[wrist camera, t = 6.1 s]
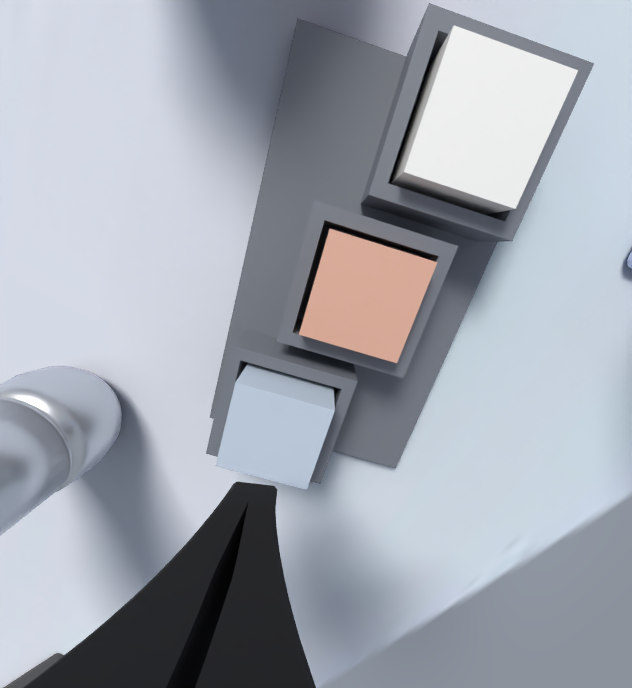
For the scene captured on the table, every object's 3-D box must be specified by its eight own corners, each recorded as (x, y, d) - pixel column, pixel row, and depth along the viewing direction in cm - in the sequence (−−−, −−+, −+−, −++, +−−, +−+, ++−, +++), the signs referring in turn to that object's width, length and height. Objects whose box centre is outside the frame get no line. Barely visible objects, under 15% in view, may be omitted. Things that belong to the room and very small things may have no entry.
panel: (545, 114, 15) (617, 72, 11) (392, 461, 21) (406, 506, 17) (299, 27, 14) (290, -48, 10) (213, 412, 20) (189, 449, 16)
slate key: (333, 385, 16) (335, 410, 14) (309, 456, 17) (306, 489, 15) (249, 361, 16) (235, 382, 13) (230, 435, 17) (215, 465, 15)
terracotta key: (419, 259, 15) (437, 262, 12) (386, 345, 16) (396, 363, 14) (329, 231, 14) (329, 228, 12) (302, 321, 16) (298, 334, 13)
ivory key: (531, 103, 13) (578, 70, 10) (483, 215, 14) (515, 208, 12) (429, 67, 13) (453, 25, 10) (390, 184, 14) (403, 171, 11)
